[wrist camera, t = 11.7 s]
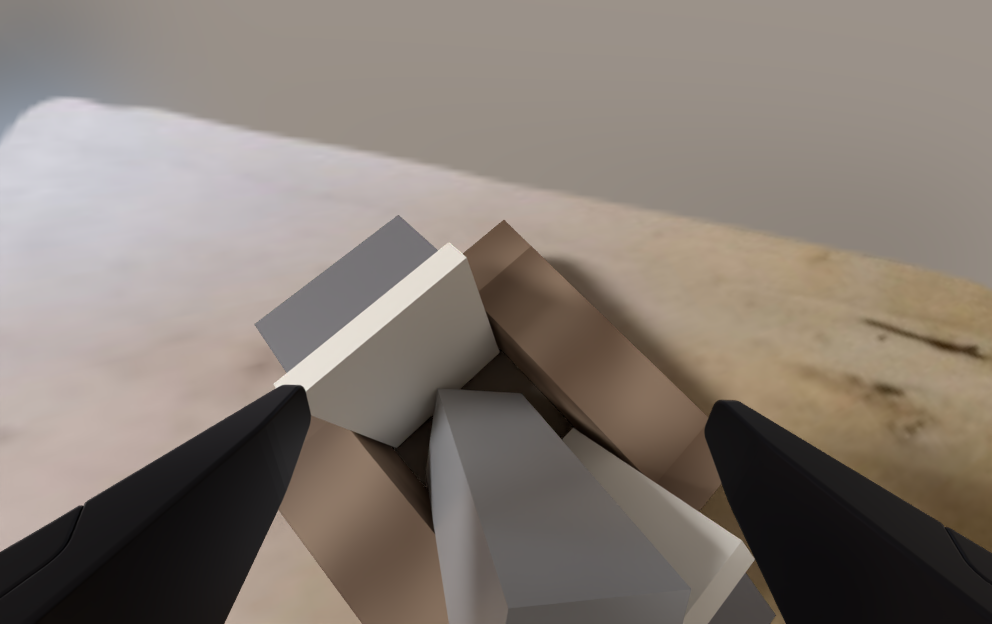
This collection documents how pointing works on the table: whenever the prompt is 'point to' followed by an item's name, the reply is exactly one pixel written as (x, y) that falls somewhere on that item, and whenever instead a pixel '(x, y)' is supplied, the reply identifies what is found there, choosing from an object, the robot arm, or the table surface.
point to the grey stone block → (534, 525)
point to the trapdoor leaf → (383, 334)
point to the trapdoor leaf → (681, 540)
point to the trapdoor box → (556, 373)
